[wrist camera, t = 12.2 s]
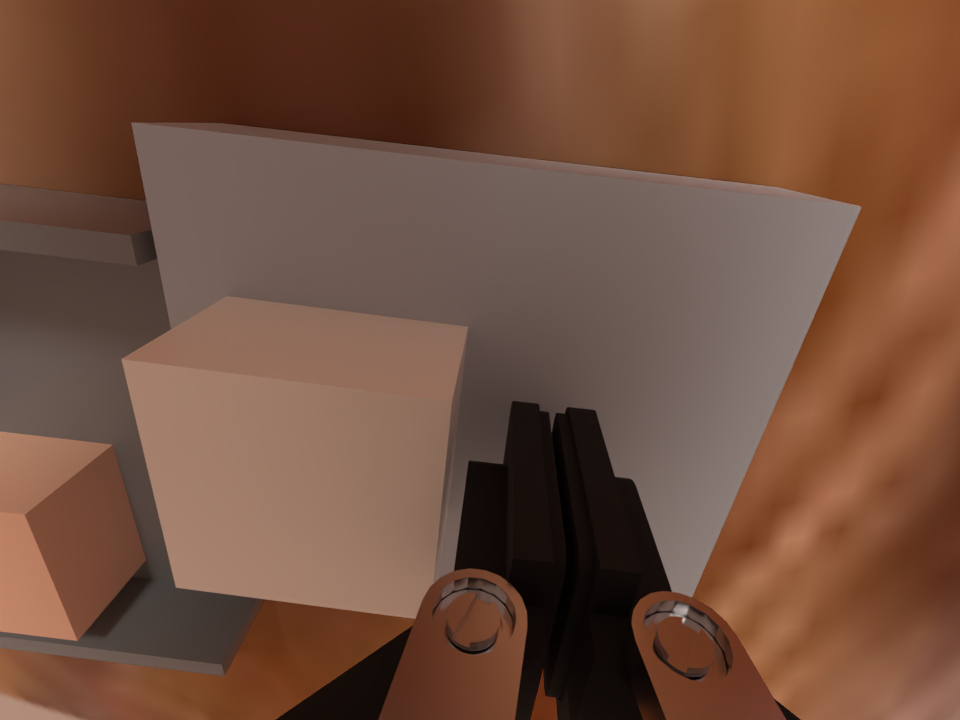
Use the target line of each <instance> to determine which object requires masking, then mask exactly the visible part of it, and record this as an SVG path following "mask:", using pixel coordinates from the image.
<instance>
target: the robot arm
mask: <svg viewBox="0 0 960 720" xmlns="http://www.w3.org/2000/svg"><path fill="white" fill-rule="evenodd" d="M542 670H543V674H544V689H545V695H546V696H549V697H556V702H557V715H558V720H800V719H799V718H798V717H796V716H795V715H794V714H793V713H791V712H790V711H789V710H788V709H786V708H785V707H784V706H783V705H781V704H780V703H779V702H777V701H776V700H775V699H774V698H773V696H772V695H771V693H770V691H769V690H768V688H767V686H766V684H765V683H764V681H763V679H762V678H761V676H760V674H759V673H758V671H757V669H756V667H755V666H754V664H753V662H752V661H751V659H750V657H749V656H748V654H747V652H746V650H745V649H744V647H743V645H742V644H741V642H740V640H739V639H738V637H737V636H736V634H735V633H734V631H733V630H732V629H731V627H730V626H729V625H728V623H727V622H726V621H725V620H724V619H723V618H722V617H720V616H719V615H718V614H717V613H716V612H715V611H714V610H713V609H712V608H710V607H708V606H707V605H705V604H703V603H702V602H700V601H698V600H697V599H695V598H692V597H689V596H687V595H684V594H681V593H677V592H672V590H671V587H670V584H669V581H668V578H667V575H666V572H665V569H664V566H663V563H662V560H661V557H660V555H659V552H658V549H657V546H656V543H655V540H654V537H653V534H652V531H651V528H650V525H649V522H648V520H647V517H646V514H645V511H644V508H643V505H642V502H641V499H640V496H639V493H638V490H637V487H636V485H635V483H634V481H633V480H632V479H630V478H621V477H615V475H614V472H613V468H612V465H611V462H610V458H609V455H608V451H607V448H606V444H605V441H604V438H603V434H602V431H601V427H600V424H599V420H598V417H597V413H596V411H595V410H591V409H582V408H573V407H567V408H566V411H565V414H563V413H556V415H555V418H554V423H553V429H552V432H551V424H550V416H549V412H545V411H540V407H539V404H537V403H528V402H519V401H512V404H511V410H510V417H509V424H508V431H507V439H506V446H505V453H504V460H503V464H497V463H488V462H479V461H470V460H469V462H468V469H467V476H466V484H465V491H464V499H463V506H462V514H461V521H460V528H459V536H458V543H457V551H456V558H455V566H454V571H453V572H451V573H449V574H446V575H444V576H442V577H440V578H439V579H438V580H437V581H436V582H435V583H434V584H433V585H431V586H430V588H429V589H428V591H427V593H426V594H425V596H424V598H423V600H422V602H421V605H420V608H419V610H418V613H417V616H416V619H415V621H414V624H413V626H412V627H410V628H409V629H407V630H406V631H404V632H403V633H401V634H400V635H398V636H397V637H396V638H394V639H393V640H391V641H390V642H388V643H387V644H385V645H384V646H382V647H381V648H379V649H378V650H377V651H375V652H374V653H372V654H371V655H369V656H368V657H366V658H365V659H363V660H362V661H361V662H359V663H358V664H356V665H355V666H353V667H352V668H350V669H349V670H347V671H346V672H345V673H343V674H342V675H340V676H339V677H337V678H336V679H334V680H333V681H331V682H330V683H328V684H327V685H326V686H324V687H323V688H321V689H320V690H318V691H317V692H315V693H314V694H312V695H311V696H310V697H308V698H307V699H305V700H304V701H302V702H301V703H299V704H298V705H296V706H295V707H293V708H292V709H291V710H289V711H288V712H286V713H285V714H283V715H282V716H280V717H279V718H277V719H276V720H530V719H531V714H532V710H533V706H534V702H535V698H536V694H537V691H538V687H539V683H540V679H541V674H542Z"/></svg>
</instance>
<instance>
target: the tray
mask: <svg viewBox="0 0 960 720" xmlns="http://www.w3.org/2000/svg"><path fill="white" fill-rule="evenodd" d="M169 330H171V327H170V321H169V316H168V311H167V306H166V301H165V295H164V290H163V285H162V280H161V275H160V270H159V264H158V259H157V254H156V249H155V244H154V238H153V233H152V228H151V223H150V218H149V212H148V207H147V202H146V201H143V200H134V199H126V198H117V197H109V196H100V195H91V194H83V193H74V192H66V191H57V190H49V189H40V188H32V187H23V186H15V185H6V184H0V431H1V432H9V433H18V434H26V435H35V436H43V437H52V438H60V439H69V440H77V441H86V442H94V443H103V444H111V445H113V447H114V451H115V454H116V458H117V461H118V465H119V468H120V472H121V475H122V479H123V482H124V485H125V489H126V492H127V496H128V499H129V503H130V506H131V510H132V513H133V517H134V520H135V523H136V527H137V530H138V534H139V537H140V541H141V544H142V548H143V551H144V554H145V558H146V561H145V562H144V563H143V564H142V565H141V567H140V568H139V569H138V570H137V571H136V573H135V574H134V575H133V576H132V577H131V578H130V580H129V581H128V582H127V583H126V584H125V586H124V587H123V588H122V589H121V590H120V591H119V593H118V594H117V595H116V596H115V597H114V599H113V600H112V601H111V602H110V603H109V604H108V606H107V607H106V608H105V609H104V610H103V612H102V613H101V614H100V615H99V616H98V618H97V619H96V620H95V621H94V622H93V623H92V625H91V626H90V627H89V628H88V629H87V631H86V632H85V633H84V634H83V635H82V636H81V638H80V639H79V640H78V641H74V640H66V639H58V638H49V637H41V636H33V635H25V634H17V633H9V632H0V648H5V649H13V650H21V651H29V652H37V653H45V654H53V655H61V656H68V657H76V658H84V659H92V660H100V661H108V662H116V663H123V664H131V665H139V666H147V667H155V668H163V669H171V670H179V671H186V672H194V673H202V674H210V675H218V676H225V674H226V672H227V670H228V669H229V667H230V665H231V663H232V661H233V659H234V657H235V655H236V653H237V651H238V649H239V648H240V646H241V644H242V642H243V640H244V638H245V636H246V634H247V632H248V630H249V628H250V627H251V625H252V623H253V621H254V619H255V617H256V615H257V613H258V611H259V609H260V607H261V606H262V604H263V602H264V600H265V599H259V598H251V597H244V596H236V595H228V594H221V593H213V592H205V591H198V590H190V589H182V588H176V586H175V582H174V578H173V574H172V569H171V565H170V561H169V557H168V553H167V548H166V544H165V540H164V536H163V532H162V527H161V523H160V519H159V515H158V511H157V506H156V502H155V498H154V494H153V490H152V486H151V481H150V477H149V473H148V469H147V465H146V460H145V456H144V452H143V448H142V444H141V439H140V435H139V431H138V427H137V423H136V419H135V414H134V410H133V406H132V402H131V398H130V393H129V389H128V385H127V381H126V377H125V372H124V368H123V364H122V360H121V359H122V358H124V357H126V356H127V355H129V354H131V353H132V352H134V351H136V350H137V349H139V348H141V347H142V346H144V345H146V344H148V343H149V342H151V341H153V340H154V339H156V338H158V337H159V336H161V335H163V334H164V333H166V332H168V331H169Z"/></svg>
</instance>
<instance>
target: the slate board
mask: <svg viewBox="0 0 960 720" xmlns="http://www.w3.org/2000/svg"><path fill="white" fill-rule="evenodd" d="M131 124H132V129H133V135H134V140H135V145H136V150H137V155H138V161H139V166H140V171H141V176H142V181H143V186H144V192H145V197H146V202H147V207H148V212H149V218H150V223H151V228H152V233H153V238H154V244H155V249H156V254H157V259H158V264H159V270H160V275H161V280H162V285H163V290H164V295H165V301H166V306H167V311H168V316H169V321H170V327H171V329H173V328H174V327H176V326H178V325H179V324H181V323H183V322H184V321H186V320H188V319H189V318H191V317H193V316H194V315H196V314H198V313H200V312H201V311H203V310H205V309H206V308H208V307H210V306H211V305H213V304H215V303H216V302H218V301H220V300H221V299H223V298H225V297H226V296H231V297H239V298H247V299H255V300H263V301H270V302H278V303H286V304H294V305H302V306H310V307H317V308H325V309H333V310H341V311H349V312H357V313H364V314H372V315H380V316H388V317H396V318H404V319H411V320H419V321H427V322H435V323H443V324H451V325H458V326H466V327H468V334H467V343H466V353H465V362H464V371H463V380H462V389H461V398H460V407H459V416H458V425H457V434H456V444H455V453H454V462H453V471H452V480H451V489H450V498H449V507H448V515H447V520H446V526H445V532H444V538H443V544H442V550H441V556H440V562H439V568H438V574H437V580H438V579H439V578H440V577H442V576H444V575H446V574H449V573H451V572H453V571H454V566H455V558H456V551H457V543H458V536H459V528H460V521H461V514H462V506H463V499H464V491H465V484H466V476H467V469H468V462H469V460H470V461H479V462H488V463H497V464H503V460H504V453H505V446H506V439H507V431H508V424H509V417H510V410H511V404H512V401H519V402H528V403H537V404H539V407H540V411H545V412H549V416H550V424H551V432H552V429H553V423H554V418H555V415H556V413H563V414H565V411H566V408H567V407H573V408H582V409H591V410H595V411H596V413H597V417H598V420H599V424H600V427H601V431H602V434H603V438H604V441H605V444H606V448H607V451H608V455H609V458H610V462H611V465H612V468H613V472H614V475H615V477H621V478H630V479H632V480H633V481H634V483H635V485H636V487H637V490H638V493H639V496H640V499H641V502H642V505H643V508H644V511H645V514H646V517H647V520H648V522H649V525H650V528H651V531H652V534H653V537H654V540H655V543H656V546H657V549H658V552H659V555H660V557H661V560H662V563H663V566H664V569H665V572H666V575H667V578H668V581H669V584H670V587H671V590H672V592H677V593H681V594H684V595H687V596H689V597H692V596H693V594H694V592H695V589H696V587H697V585H698V582H699V580H700V578H701V575H702V573H703V571H704V569H705V566H706V564H707V562H708V559H709V557H710V555H711V552H712V550H713V548H714V546H715V543H716V541H717V539H718V536H719V534H720V532H721V529H722V527H723V525H724V522H725V520H726V518H727V516H728V513H729V511H730V509H731V506H732V504H733V502H734V499H735V497H736V495H737V493H738V490H739V488H740V486H741V483H742V481H743V479H744V476H745V474H746V472H747V470H748V467H749V465H750V463H751V460H752V458H753V456H754V453H755V451H756V449H757V446H758V444H759V442H760V440H761V437H762V435H763V433H764V430H765V428H766V426H767V423H768V421H769V419H770V417H771V414H772V412H773V410H774V407H775V405H776V403H777V400H778V398H779V396H780V394H781V391H782V389H783V387H784V384H785V382H786V380H787V377H788V375H789V373H790V371H791V368H792V366H793V364H794V361H795V359H796V357H797V354H798V352H799V350H800V347H801V345H802V343H803V341H804V338H805V336H806V334H807V331H808V329H809V327H810V324H811V322H812V320H813V318H814V315H815V313H816V311H817V308H818V306H819V304H820V301H821V299H822V297H823V295H824V292H825V290H826V288H827V285H828V283H829V281H830V278H831V276H832V274H833V272H834V269H835V267H836V265H837V262H838V260H839V258H840V255H841V253H842V251H843V248H844V246H845V244H846V242H847V239H848V237H849V235H850V232H851V230H852V228H853V225H854V223H855V221H856V219H857V216H858V214H859V212H860V209H861V206H857V205H852V204H848V203H844V202H840V201H835V200H831V199H827V198H822V197H818V196H814V195H809V194H805V193H801V192H796V191H792V190H788V189H783V188H779V187H772V186H763V185H754V184H746V183H737V182H728V181H720V180H711V179H702V178H694V177H685V176H676V175H668V174H659V173H650V172H642V171H633V170H624V169H616V168H607V167H598V166H590V165H581V164H572V163H564V162H555V161H546V160H538V159H529V158H520V157H512V156H503V155H494V154H486V153H477V152H468V151H460V150H451V149H442V148H434V147H425V146H416V145H408V144H399V143H390V142H382V141H373V140H364V139H356V138H347V137H338V136H330V135H321V134H312V133H304V132H295V131H286V130H278V129H269V128H260V127H252V126H243V125H234V124H226V123H162V122H131ZM437 580H436V581H437Z"/></svg>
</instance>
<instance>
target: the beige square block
mask: <svg viewBox="0 0 960 720" xmlns="http://www.w3.org/2000/svg"><path fill="white" fill-rule="evenodd" d="M467 334H468V327H466V326H458V325H451V324H443V323H435V322H427V321H419V320H411V319H404V318H396V317H388V316H380V315H372V314H364V313H357V312H349V311H341V310H333V309H325V308H317V307H310V306H302V305H294V304H286V303H278V302H270V301H263V300H255V299H247V298H239V297H231V296H226V297H225V298H223V299H221V300H220V301H218V302H216V303H215V304H213V305H211V306H210V307H208V308H206V309H205V310H203V311H201V312H200V313H198V314H196V315H194V316H193V317H191V318H189V319H188V320H186V321H184V322H183V323H181V324H179V325H178V326H176V327H174V328H173V329H171V330H169V331H168V332H166V333H164V334H163V335H161V336H159V337H158V338H156V339H154V340H153V341H151V342H149V343H148V344H146V345H144V346H142V347H141V348H139V349H137V350H136V351H134V352H132V353H131V354H129V355H127V356H126V357H124V358H122V359H121V360H122V364H123V368H124V372H125V377H126V381H127V385H128V389H129V393H130V398H131V402H132V406H133V410H134V414H135V419H136V423H137V427H138V431H139V435H140V439H141V444H142V448H143V452H144V456H145V460H146V465H147V469H148V473H149V477H150V481H151V486H152V490H153V494H154V498H155V502H156V506H157V511H158V515H159V519H160V523H161V527H162V532H163V536H164V540H165V544H166V548H167V553H168V557H169V561H170V565H171V569H172V574H173V578H174V582H175V586H176V588H182V589H190V590H198V591H205V592H213V593H221V594H228V595H236V596H244V597H251V598H259V599H266V600H274V601H282V602H289V603H297V604H305V605H312V606H320V607H328V608H335V609H343V610H350V611H358V612H366V613H373V614H381V615H389V616H396V617H404V618H412V619H416V616H417V613H418V610H419V608H420V605H421V602H422V600H423V598H424V596H425V594H426V593H427V591H428V589H429V588H430V586H431V585H433V584H434V583H435V582H436V580H437V574H438V568H439V562H440V556H441V550H442V544H443V538H444V532H445V526H446V520H447V515H448V507H449V498H450V489H451V480H452V471H453V462H454V453H455V444H456V434H457V425H458V416H459V407H460V398H461V389H462V380H463V371H464V362H465V353H466V343H467Z"/></svg>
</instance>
